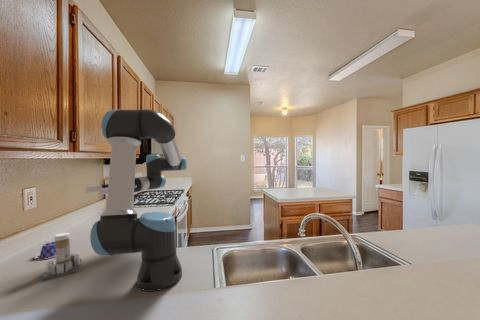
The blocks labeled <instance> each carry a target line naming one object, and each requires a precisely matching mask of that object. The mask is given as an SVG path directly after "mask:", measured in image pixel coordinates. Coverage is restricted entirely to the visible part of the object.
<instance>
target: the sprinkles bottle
mask: <svg viewBox="0 0 480 320" xmlns="http://www.w3.org/2000/svg"><path fill="white" fill-rule="evenodd" d="M70 237H71V235H70V232H61V233H60V232H59V233H56V234H55V235H54V242H56V255H55V258H56V261H57V264H62V263H65V262H68V261H70V255H71V245H70V244H71V243H70Z"/></svg>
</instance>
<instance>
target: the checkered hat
mask: <svg viewBox="0 0 480 320" xmlns="http://www.w3.org/2000/svg"><path fill="white" fill-rule="evenodd" d="M38 254H40V256H39V257H40V258H41V257H42V258H45V259H48V258H49V259H52V258H56V242H55V241H51V242H47V243H45V244H43V245H42V246H41V249H40V252H39V253H37V254H35V255H34V256H33V259H34V260H37V259H36V258H35V256H36V255H38ZM47 257H48V258H47ZM45 259H44V260H45Z"/></svg>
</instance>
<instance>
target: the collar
mask: <svg viewBox="0 0 480 320" xmlns="http://www.w3.org/2000/svg"><path fill="white" fill-rule="evenodd" d="M82 260H83V259H82V258H81V257H80V254H79V253H70V261H68V262H65V263H62V264H57V261H56V257H54V261H55V263H54V261H53V260H52V261H48V262H47V263H46V264H45V266H46V267H45V268H46V269H45V270H46V273H45V274H44V275H43V277H42V280H48V279H52V278H57V277H61V276H66V275H69V274H74V273H75V274H76V273H77V272H78V270H79V268H80V267H81V264H82Z"/></svg>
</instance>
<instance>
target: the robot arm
mask: <svg viewBox="0 0 480 320" xmlns="http://www.w3.org/2000/svg"><path fill="white" fill-rule="evenodd" d="M100 125H101V132H102V135H103V137H104V138H105V139H106V140H107V141H106V142H107V143H108V144H109V145H110V146H111V148H110V161H109V171H108V182H107V183H106V184H105V183H104V184H99V185H98V184H97V185H92V186H85V193H86V194H88V193H95V192H100V195H101V196H103V195H107V196H106V197H107V198H106V206H105V207H106V208H105V210H104V211H103V212H102V213H101V214H100V219H99V220H97V221H95V222H94V223H93V225H92V227H91V228H90V235H89V238H90V239H89V241H90V245H91V248H92V250H93V251H94V252H95V253H96V254H97V255H99V256H115V255H125V254H135V253H141V263H140V266H139V269H138V273H137V277H136V281H137V282H136V283H137V284H136V285H137V288H139V289H140V288H141V289H140V290H142V289H144V290H158V289H162V290H165V289H168V288H170V287H172V286H174V285H176V284H177V283H178V282H179V281H180V280H181V278H182V276H183V267H182V264H181V263H180V260H179V257H178V255H177V237H176V236H177V235H176V230H177V227H176V220H175V216H174V215H173V214H170V213H168V212H164V211H152V212H151V211H150V212H145V213H142V214H141V215H140V217H138V212H137V211H136V210H135V209H134V203H135V193H137V192H138V193H139V192H143V193H144V192H145V191H150V190H156V189H157V190H158V189H161V188H163V187H165V185H166V183H167V180H166V177H165V176H164V175H163V174H162V172H167V171H168V172H169V171H174V172H175V171H180V172H181V171H185V170H187V167H188V160H187V158H186V156H185V157H183V156H181V153H180V150H179V146H178V144H177V140H176V138H175V137H176V130H175V127H174V125H173V124H172V122H171V121H170V120H169V119H168V118H167V117H166V116H164V115H163V114H162V113H160V112H158V111H156V110H153V109H150V108H149V109H148V108H147V109H122V108H119V109H110V110H108V111H106V112H105V113H104V115H103V117H102V119H101V124H100ZM142 139H143V140H145V139H152V140H154V141H155V142H156V143H157V144H158V145H159V147H160V149H161V151H162V153H163V155H164V157H161V155H160V154H148V155H146V157H145V166H146V167H145V168H146V175H145V176H138V177H136V166H137V165H136V162H137V148H138V147H140V146H141V145H142ZM167 287H168V288H167ZM164 288H165V289H164ZM144 290H143V291H144ZM158 291H159V290H158Z"/></svg>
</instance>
